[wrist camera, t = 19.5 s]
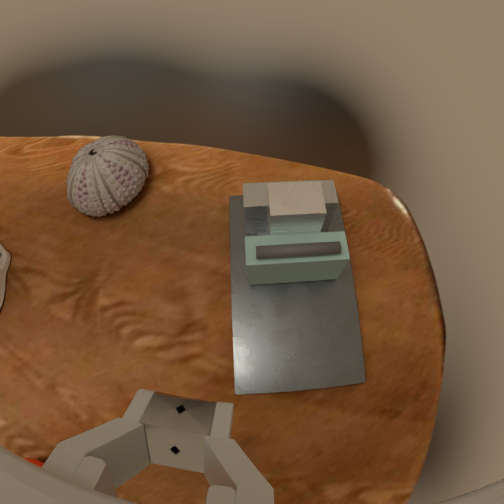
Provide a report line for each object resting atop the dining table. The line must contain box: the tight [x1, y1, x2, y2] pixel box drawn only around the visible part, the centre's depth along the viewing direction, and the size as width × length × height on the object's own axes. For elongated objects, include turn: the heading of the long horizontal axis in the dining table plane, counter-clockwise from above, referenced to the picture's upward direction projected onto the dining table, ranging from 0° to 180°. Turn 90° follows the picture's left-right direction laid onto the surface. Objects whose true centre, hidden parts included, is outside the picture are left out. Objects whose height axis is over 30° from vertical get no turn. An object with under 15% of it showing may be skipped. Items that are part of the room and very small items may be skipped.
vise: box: [229, 180, 365, 394], centre depth 33 cm, size 24×14×8 cm, turn 3°
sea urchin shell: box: [66, 136, 150, 217], centre depth 41 cm, size 13×14×8 cm
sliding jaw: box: [245, 231, 350, 285], centre depth 33 cm, size 3×10×7 cm, turn 93°
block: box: [267, 181, 327, 235], centre depth 33 cm, size 4×5×10 cm
